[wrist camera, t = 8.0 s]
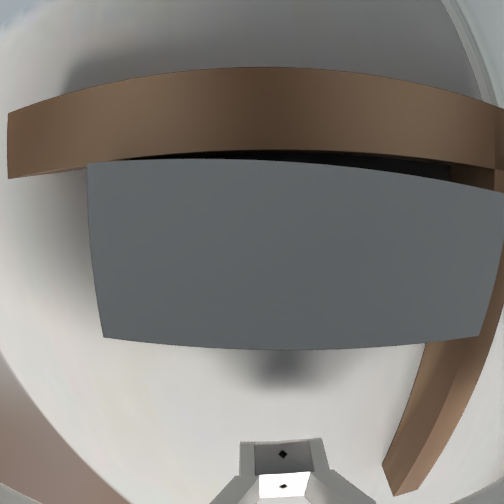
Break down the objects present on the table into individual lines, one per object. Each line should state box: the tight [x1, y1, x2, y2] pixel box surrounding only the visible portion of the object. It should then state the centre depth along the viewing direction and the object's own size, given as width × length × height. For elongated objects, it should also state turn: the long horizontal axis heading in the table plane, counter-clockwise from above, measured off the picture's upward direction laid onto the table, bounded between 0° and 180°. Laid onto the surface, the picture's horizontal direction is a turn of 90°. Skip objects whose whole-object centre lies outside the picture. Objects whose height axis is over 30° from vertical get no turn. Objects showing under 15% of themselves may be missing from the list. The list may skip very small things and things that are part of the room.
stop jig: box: [7, 67, 504, 496], centre depth 10 cm, size 16×18×2 cm
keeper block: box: [87, 159, 504, 350], centre depth 8 cm, size 10×4×4 cm, turn 88°
